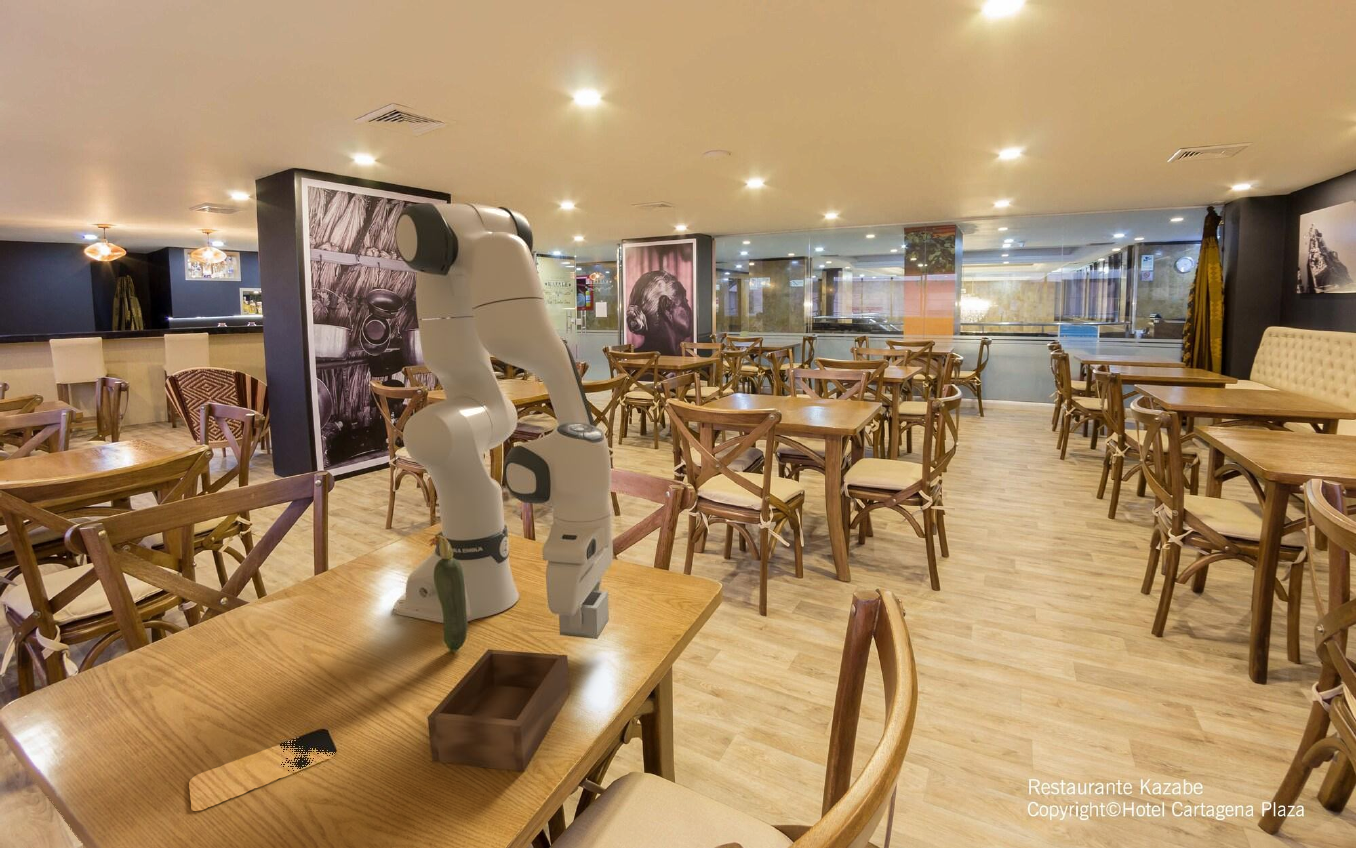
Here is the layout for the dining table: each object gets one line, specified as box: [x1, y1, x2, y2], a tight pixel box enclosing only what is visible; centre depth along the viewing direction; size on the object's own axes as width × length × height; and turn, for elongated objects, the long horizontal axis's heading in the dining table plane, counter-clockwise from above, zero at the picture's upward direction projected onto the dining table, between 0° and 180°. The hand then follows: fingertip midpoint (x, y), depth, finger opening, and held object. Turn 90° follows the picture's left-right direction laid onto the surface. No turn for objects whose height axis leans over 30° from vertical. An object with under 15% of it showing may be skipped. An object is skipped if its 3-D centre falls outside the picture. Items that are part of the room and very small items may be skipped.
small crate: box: [558, 589, 610, 640], centre depth 103 cm, size 6×6×5 cm
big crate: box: [426, 648, 570, 772], centre depth 87 cm, size 12×16×6 cm
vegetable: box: [433, 535, 468, 654], centre depth 104 cm, size 4×4×20 cm
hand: (584, 614), depth 103 cm, fingers closed on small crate, 6 cm apart
